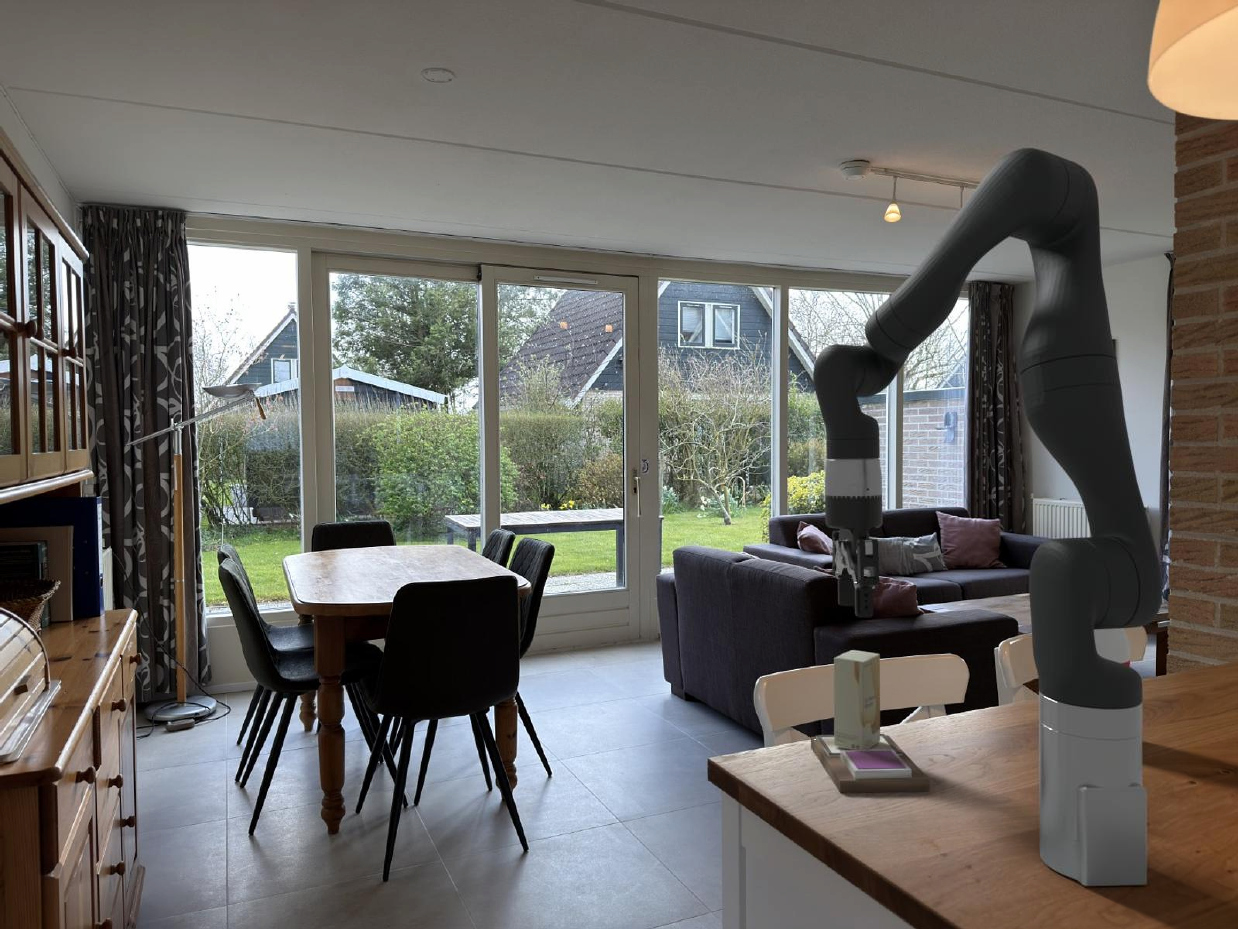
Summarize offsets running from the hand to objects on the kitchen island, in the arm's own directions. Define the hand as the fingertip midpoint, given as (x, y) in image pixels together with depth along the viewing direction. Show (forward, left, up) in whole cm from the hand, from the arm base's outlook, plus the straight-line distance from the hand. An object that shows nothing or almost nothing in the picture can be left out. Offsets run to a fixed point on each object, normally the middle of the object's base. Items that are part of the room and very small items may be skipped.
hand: (855, 611), depth 119 cm
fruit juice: (+5, -35, -20) cm, 41 cm away
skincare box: (0, 0, -19) cm, 19 cm away
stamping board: (-4, 0, -20) cm, 20 cm away
